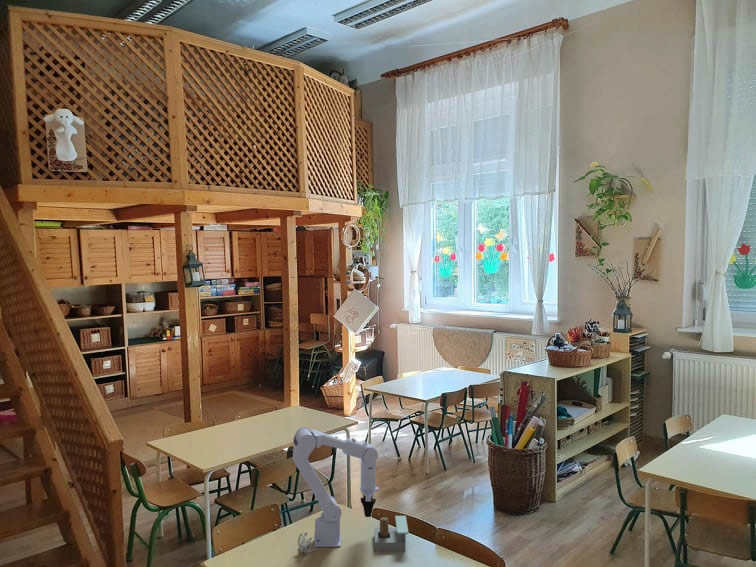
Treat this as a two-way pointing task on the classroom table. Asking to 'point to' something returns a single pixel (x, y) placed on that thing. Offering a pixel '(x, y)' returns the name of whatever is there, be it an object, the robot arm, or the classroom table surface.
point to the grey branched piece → (304, 544)
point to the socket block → (392, 536)
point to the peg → (383, 527)
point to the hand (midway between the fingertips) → (367, 511)
